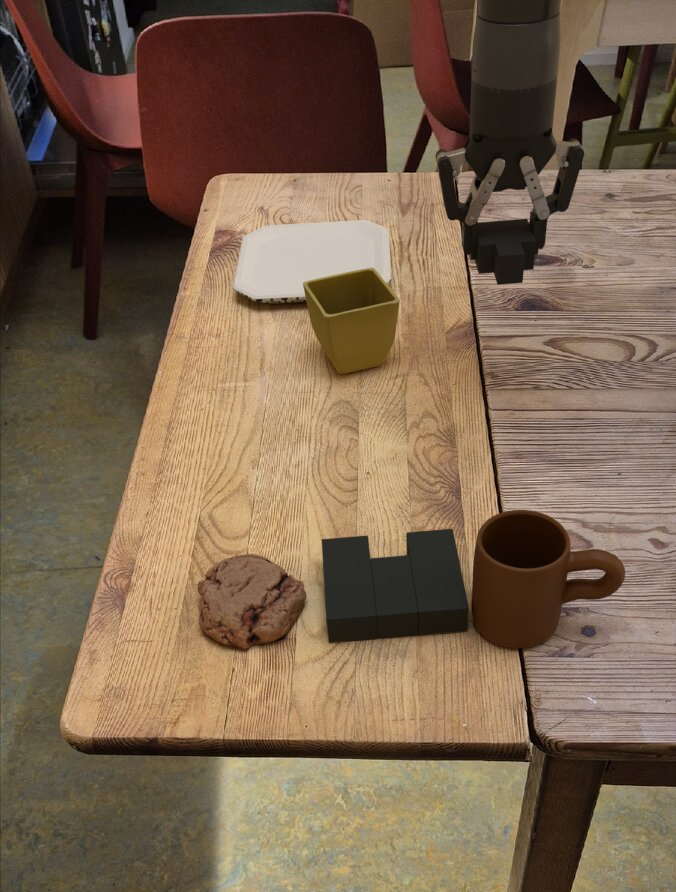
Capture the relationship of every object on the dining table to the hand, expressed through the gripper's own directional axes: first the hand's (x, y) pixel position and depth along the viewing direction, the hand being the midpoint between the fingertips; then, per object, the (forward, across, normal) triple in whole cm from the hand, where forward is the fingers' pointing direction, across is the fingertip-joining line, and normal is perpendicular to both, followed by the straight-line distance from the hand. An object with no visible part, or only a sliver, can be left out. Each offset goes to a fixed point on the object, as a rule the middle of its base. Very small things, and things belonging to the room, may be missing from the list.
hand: (502, 253), depth 94 cm
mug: (+16, -2, -37) cm, 40 cm away
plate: (+15, -20, +30) cm, 39 cm away
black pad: (+1, 0, -1) cm, 1 cm away
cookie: (+15, -27, -32) cm, 45 cm away
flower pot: (+16, -16, +7) cm, 23 cm away
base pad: (+15, -14, -32) cm, 38 cm away
